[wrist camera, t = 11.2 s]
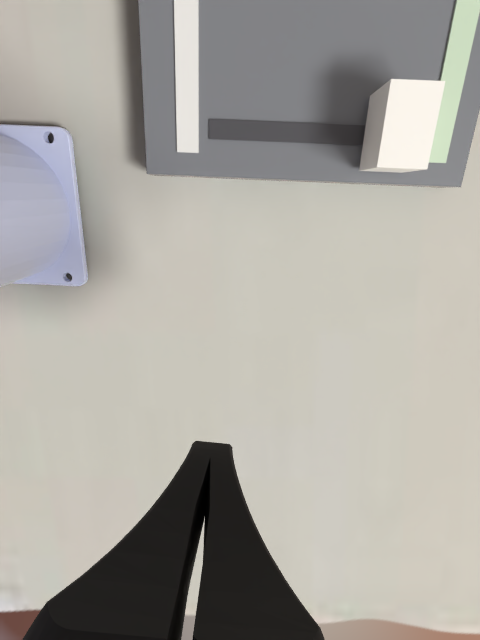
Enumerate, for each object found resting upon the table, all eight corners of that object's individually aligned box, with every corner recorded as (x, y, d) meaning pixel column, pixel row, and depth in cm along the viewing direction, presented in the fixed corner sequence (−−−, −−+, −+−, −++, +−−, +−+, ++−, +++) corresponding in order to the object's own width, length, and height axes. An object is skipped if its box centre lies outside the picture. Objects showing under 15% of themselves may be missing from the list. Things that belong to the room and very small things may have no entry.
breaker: (359, 170, 16) (376, 167, 14) (370, 96, 15) (391, 78, 13) (402, 172, 16) (427, 169, 14) (416, 97, 15) (445, 80, 13)
